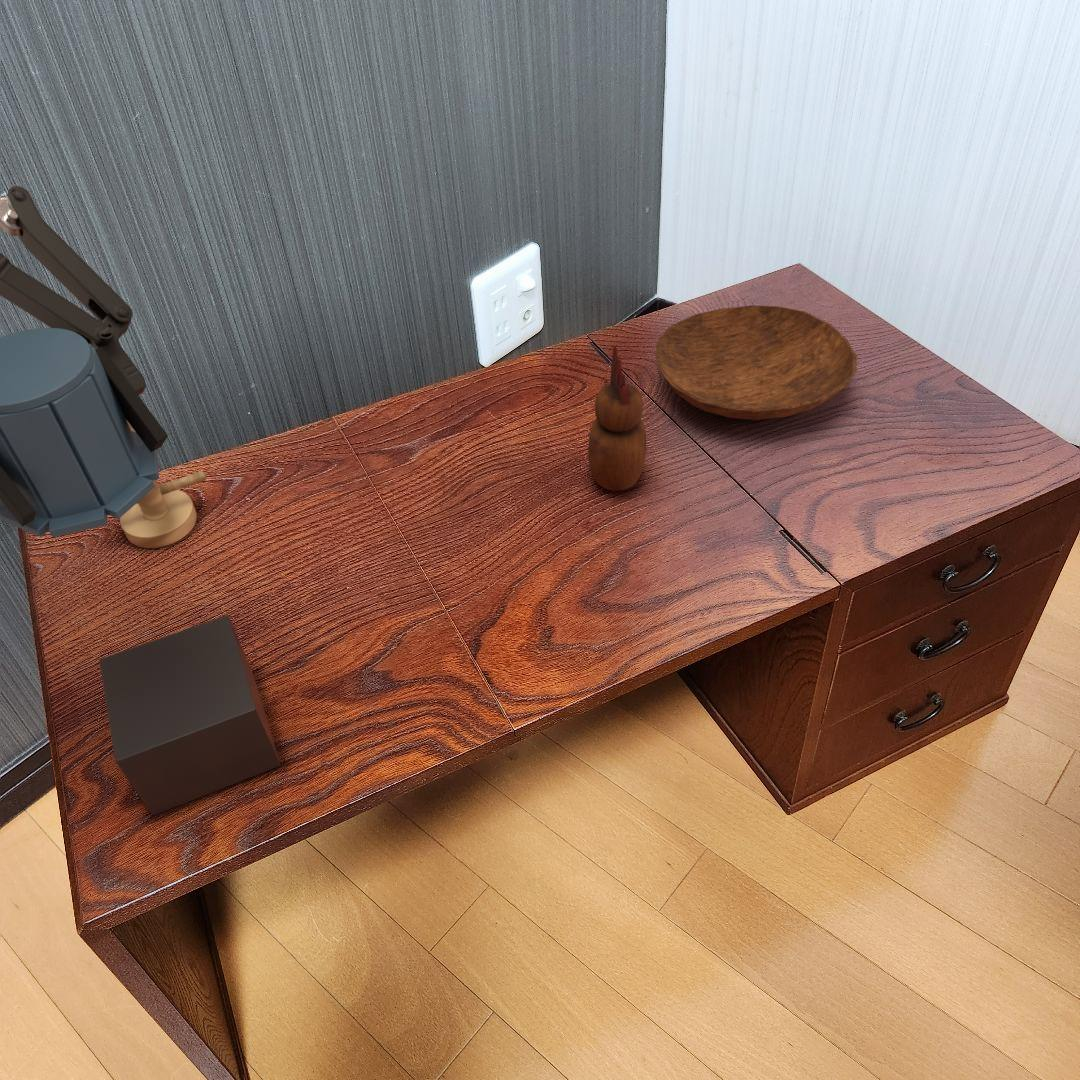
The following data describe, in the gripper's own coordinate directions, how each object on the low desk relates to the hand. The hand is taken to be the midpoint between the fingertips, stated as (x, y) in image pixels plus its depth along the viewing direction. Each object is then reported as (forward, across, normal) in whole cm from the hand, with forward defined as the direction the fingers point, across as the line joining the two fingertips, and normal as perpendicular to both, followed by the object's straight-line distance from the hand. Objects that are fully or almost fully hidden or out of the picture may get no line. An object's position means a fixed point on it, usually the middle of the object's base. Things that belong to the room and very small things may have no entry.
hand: (96, 480), depth 56 cm
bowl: (+26, -66, -14) cm, 72 cm away
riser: (+19, +2, -20) cm, 28 cm away
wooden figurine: (+24, -45, -16) cm, 53 cm away
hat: (-1, 0, -4) cm, 4 cm away
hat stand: (+2, -10, -37) cm, 39 cm away
